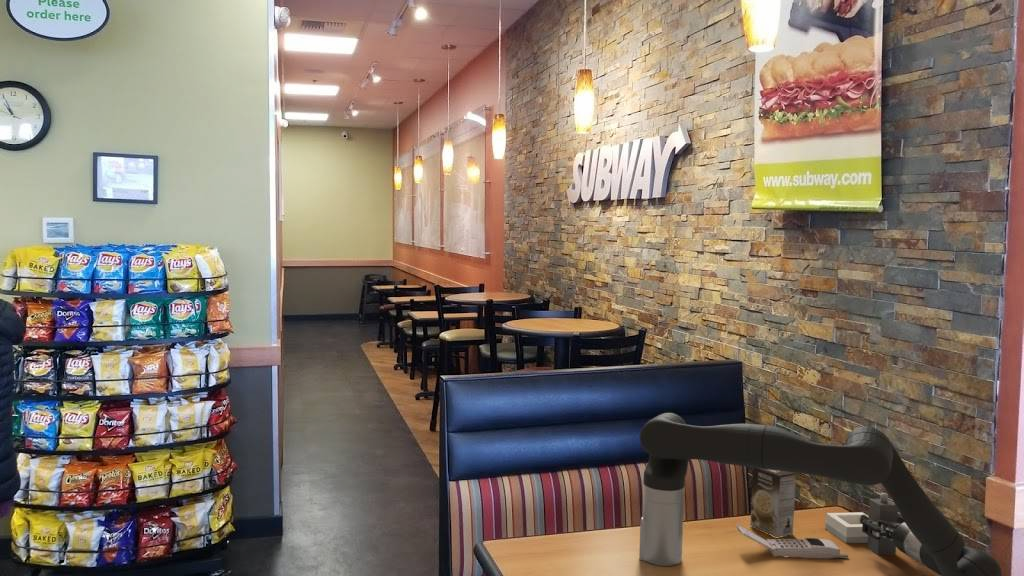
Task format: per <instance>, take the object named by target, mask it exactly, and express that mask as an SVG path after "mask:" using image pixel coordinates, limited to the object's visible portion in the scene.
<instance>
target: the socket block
mask: <svg viewBox="0 0 1024 576" xmlns="http://www.w3.org/2000/svg"><path fill="white" fill-rule="evenodd" d="M861 515H866V516H868V517H869V514H868V515H867V514H866V513H864V512H862V511H859V512H858V511H857V512H825V526H824V528H825V530H827V531H828V532H830V533H831V534H832V535H834V536H835V537H837V538H838V539H839V540H841V541H842V542H844V543H846V544H860V543H862V544H863V543H865V544H867V540H868V535H867V534H866V533H864V532H862V524H861V523H860V517H861Z"/></svg>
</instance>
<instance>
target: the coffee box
mask: <svg viewBox="0 0 1024 576" xmlns="http://www.w3.org/2000/svg"><path fill="white" fill-rule="evenodd" d="M796 484H797V473H794V472H787V471H780V470H768V469H759V468H752V485H751V486H752V487H751V506H750V521H749V522H750V523H749V524H750V525H749V526H752V527H755V528H757V529H759V530H761V531H764V532H766V533H768V534H771V535H773V536H775V537H780V536H786V537H788V536H787V535H790V536H793V535H794V534H793V533H794V521H795V520H794V519H795V504H796V502H795V500H796V499H795V498H796V487H797V486H796ZM752 527H751V528H752ZM792 534H793V535H792Z"/></svg>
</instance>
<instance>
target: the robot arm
mask: <svg viewBox="0 0 1024 576" xmlns="http://www.w3.org/2000/svg"><path fill="white" fill-rule="evenodd" d="M639 442H640V446H641V447H642V449H643V450H644V452H645V453H647V454H649V456H648V461H647V463H646V467H645V469H644V471H643V486H642V487H643V488H642V491H643V492H642V510H641V511H642V512H641V513H642V515H641V517H640V523H639V524H640V526H639V527H640V528H639V553H638V557H639V558H638V560H640V561H643V562H646V563H649V564H652V565H655V566H663V567H670V566H676V565H679V564H680V563H681V562H682V560H683V540H684V539H683V538H684V537H683V535H684V533H683V530H684V507H685V482H686V476H687V474H688V467H689V460H699V461H706V462H711V463H712V462H713V463H717V464H719V463H720V464H725V465H733V466H739V467H745V468H752V469H753V468H759V469H768V470H780V471H787V472H794V473H796V474H802V475H803V474H804V475H811V476H818V477H822V478H828V479H831V480H832V479H833V480H837V481H841V482H845V483H850V484H855V485H860V486H875V485H880V484H881V485H882V487H883V488H884V489H885V490H886V492H887V494H888V496H890V498H891V499H892V500H891V501H892V502H894V503H895V505H896V507H897V509H898V520H897V523H895V522H893V523H891V522H887V521H883V520H880V521H875V520H872V519H871V518H869V517H868V516H869V515H868V516H866V515H867V514H866V515H861V517H860V523H861V524H862V532H864V533H866V534H867V535H869V536H871V537H872V538H874V539H876V540H880V538H881V536H882V537H886V538H888V539H890V540H892V541H893V542H894V544H895V546H896V549H898V550H899V552H901V553H903V554H904V555H906V556H907V557H909V558H911V559H912V560H914V561H915V562H916V563H918V564H920V565H922V566H925V567H926V568H928V569H929V570H931V571H932V572H934V573H936V574H938V575H939V576H1002V574H1003V571H1002V567H1001V565H1000V563H999V562H998V561H997V560H996V559H995V557H993V555H990V554H988V552H985V551H983V550H981V549H978V548H974V547H969V546H965V545H966V544H965V543H966V542H965V539H964V537H963V536H962V535H961V533H959V531H958V530H957V529H956V528H955V527H954V525H953V524H952V523H951V522H950V520H948V518H947V517H946V516H945V515H944V514H943V513H942V511H941V510H940V509H939V508H938V507H937V505H935V503H934V502H933V501H932V500H931V499H930V497H929V496H928V494H926V492H925V491H924V490H923V488H922V487H921V485H920V484H919V483H918V482H917V480H916V478H915V477H914V476H913V474H912V472H910V470H909V468H908V467H907V466H906V464H905V463H904V461H903V460H902V458H901V455H900V454H899V453H898V451H897V449H896V448H895V446H894V444H893V443H892V442H891V440H890V439H889V437H888V436H887V435H886V434H885V433H884V432H883V431H881V430H879V429H877V428H875V427H872V426H858V427H855V428H853V429H852V430H851V431H849V433H848V434H847V436H846V437H845V441H844V443H843V444H844V445H841V444H828V443H818V442H814V441H810V440H808V439H805V438H803V437H801V436H799V435H797V434H796V433H793V432H791V431H789V430H787V429H785V428H782V427H779V426H775V425H769V424H768V425H766V424H756V423H730V424H720V425H719V424H718V425H710V426H709V425H708V426H701V425H699V426H698V425H691V424H687V423H686V421H685V419H683V418H682V417H681V416H680V415H678V414H676V413H674V412H664V413H661V414H659V415H657V416H655V417H653V418H651V419H649V420H648V421H647V422H646V423H645V424H644V426H643V427H642V428H641V430H640V433H639ZM874 524H876V525H878V527H877V526H875V525H874ZM883 524H884V525H886V527H885V531H883Z"/></svg>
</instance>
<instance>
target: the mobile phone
mask: <svg viewBox="0 0 1024 576" xmlns="http://www.w3.org/2000/svg"><path fill="white" fill-rule="evenodd" d="M736 528H737V531H738V532H739V533H740V534H741V535H743V536H745V538H746V537H747V538H749V539H750V540H752V541H754V542H756V543H758V544H760V545H762V546H764V547H765V548H767V549H769V550H770V551H771V552H770V551H769V550H768V551H769V552H770V554H771V553H772V554H773V555H774V556H788V557H787V558H789V557H804V558H803V559H822V558H824V559H836V558H837V559H840V558H841V559H842V558H843V559H844V558H845V559H846V558H849V554H847V553H841V549H840V548H839V547H838V546H837V545H836V543H834V542H833V540H830V539H826V538H817V537H816V538H815V537H804V538H792V539H791V538H787V539H786V538H784V539H783V538H782V539H781V538H777V539H776V538H773V539H772V538H771V539H770V538H767V539H766V538H763V537H761V536H760V535H758V534H756V533H754V532H752V531H751V530H749V529H747V528H745V527H744V526H742V525H740V524H736ZM772 554H771V555H772ZM773 555H772V556H773ZM774 556H773V557H774Z"/></svg>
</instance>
